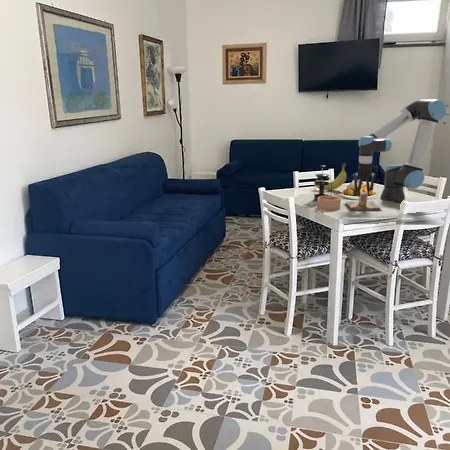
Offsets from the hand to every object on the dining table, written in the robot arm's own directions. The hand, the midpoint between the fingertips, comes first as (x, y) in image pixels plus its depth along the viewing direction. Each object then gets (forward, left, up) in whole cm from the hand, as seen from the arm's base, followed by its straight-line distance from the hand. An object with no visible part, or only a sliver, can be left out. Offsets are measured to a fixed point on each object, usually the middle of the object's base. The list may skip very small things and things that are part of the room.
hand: (362, 201), depth 269 cm
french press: (+21, -23, -5) cm, 32 cm away
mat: (0, 0, -4) cm, 4 cm away
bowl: (+20, 0, -4) cm, 21 cm away
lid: (0, 0, -3) cm, 3 cm away
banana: (+11, -57, -5) cm, 58 cm away
